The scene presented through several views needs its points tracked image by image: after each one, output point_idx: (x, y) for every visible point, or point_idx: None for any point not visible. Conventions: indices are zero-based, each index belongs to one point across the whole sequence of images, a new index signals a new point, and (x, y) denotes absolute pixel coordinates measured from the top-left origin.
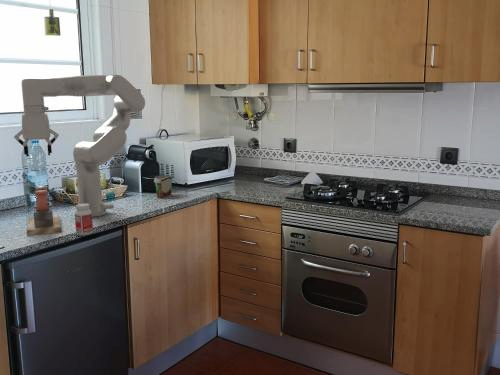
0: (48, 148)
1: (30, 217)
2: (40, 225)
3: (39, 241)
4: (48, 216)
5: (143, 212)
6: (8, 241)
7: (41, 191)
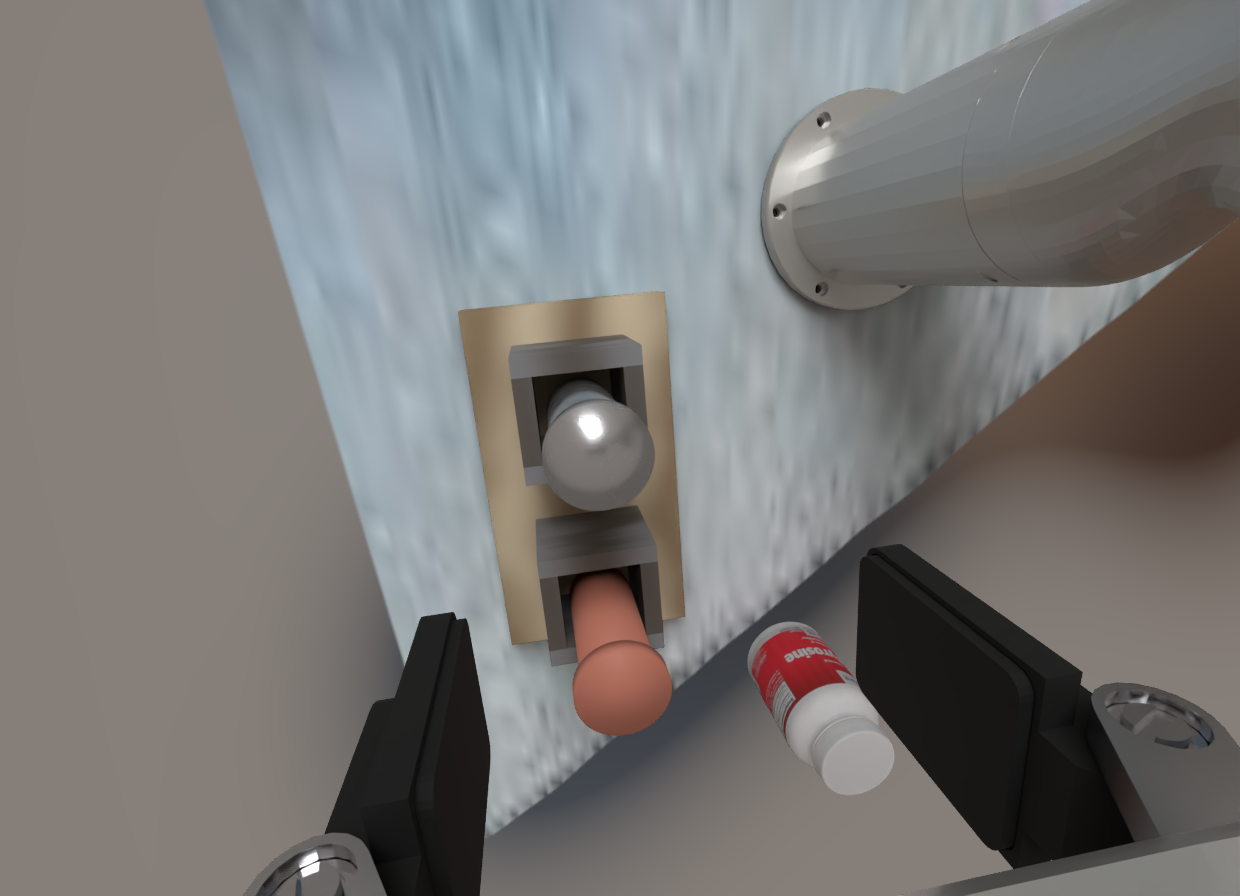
0: (963, 796)
1: (472, 313)
2: None
3: (586, 734)
4: None
5: None
6: None
7: (626, 704)
